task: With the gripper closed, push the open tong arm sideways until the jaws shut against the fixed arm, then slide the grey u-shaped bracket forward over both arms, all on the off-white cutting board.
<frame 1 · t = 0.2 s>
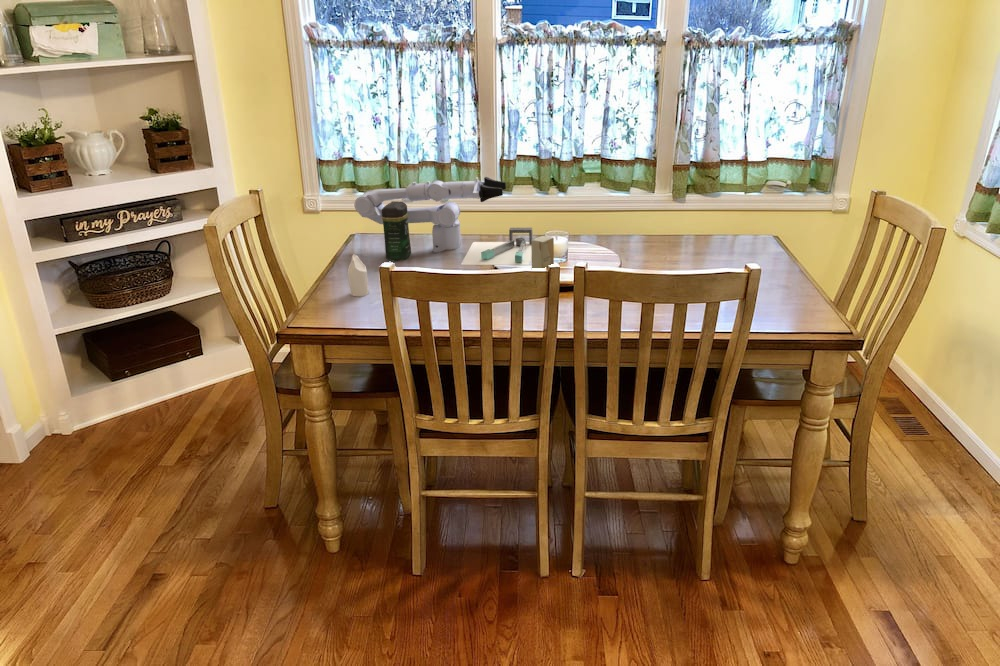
hand: (504, 188, 261), 21 cm above the table, tool horizontal, fingers open, 7 cm apart
tongs fixed: (520, 245, 269), resting on board
tong arm: (498, 249, 262), point 3 cm above the table, hinge at 28.0°
skincare box: (543, 277, 242), on the table
board: (499, 256, 263), on the table
cream carton: (359, 293, 235), on the table
grey u-shaped bracket: (520, 235, 270), point 4 cm above the table, slide at 0.0 cm
coffee jar: (399, 257, 266), on the table
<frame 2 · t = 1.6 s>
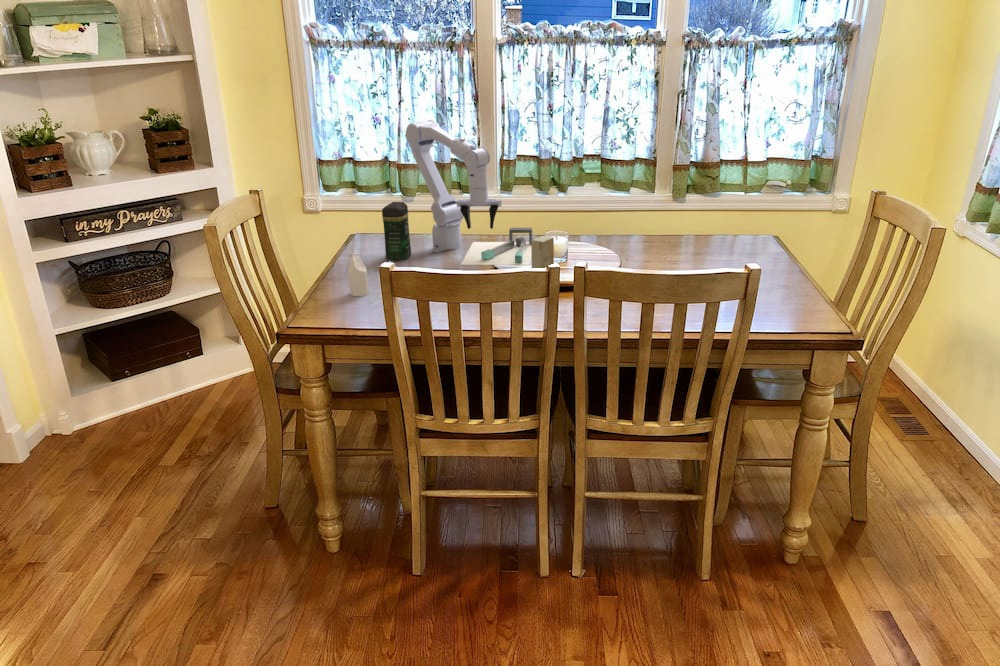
hand: (480, 227, 259), 10 cm above the table, tool pointing down, fingers open, 7 cm apart
nothing on the table moved.
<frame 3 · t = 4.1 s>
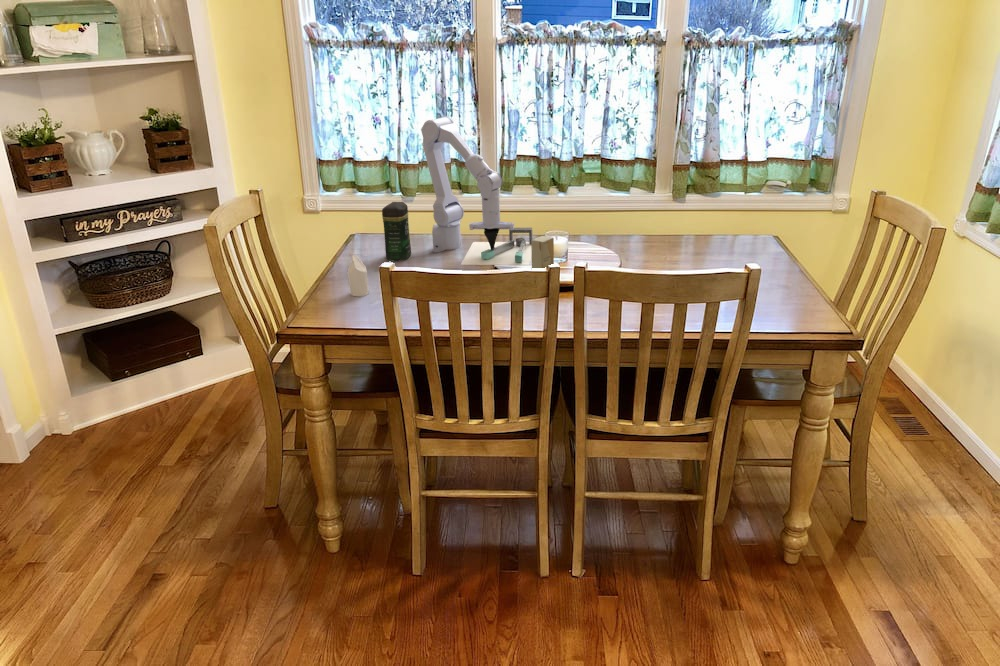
hand: (492, 250, 262), 2 cm above the table, tool pointing down, fingers closed, pressing on tong arm
tong arm: (498, 249, 262), point 2 cm above the table, hinge at 28.0°, touching gripper
everything else where it was.
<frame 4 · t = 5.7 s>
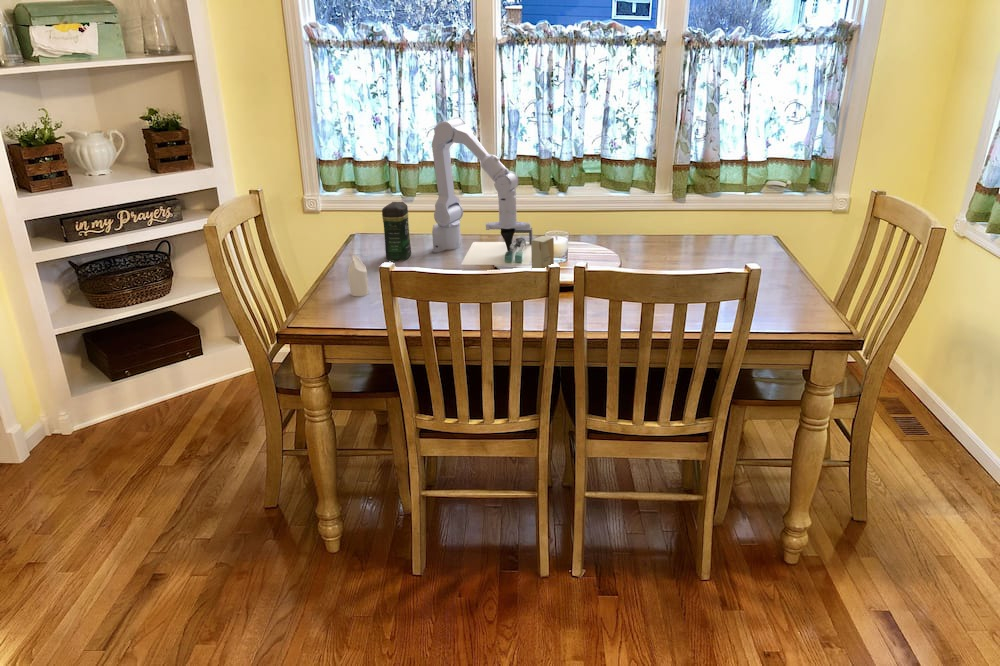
hand: (508, 250, 261), 2 cm above the table, tool pointing down, fingers closed
tong arm: (511, 251, 259), point 2 cm above the table, hinge at 1.5°, touching gripper
everything else where it was.
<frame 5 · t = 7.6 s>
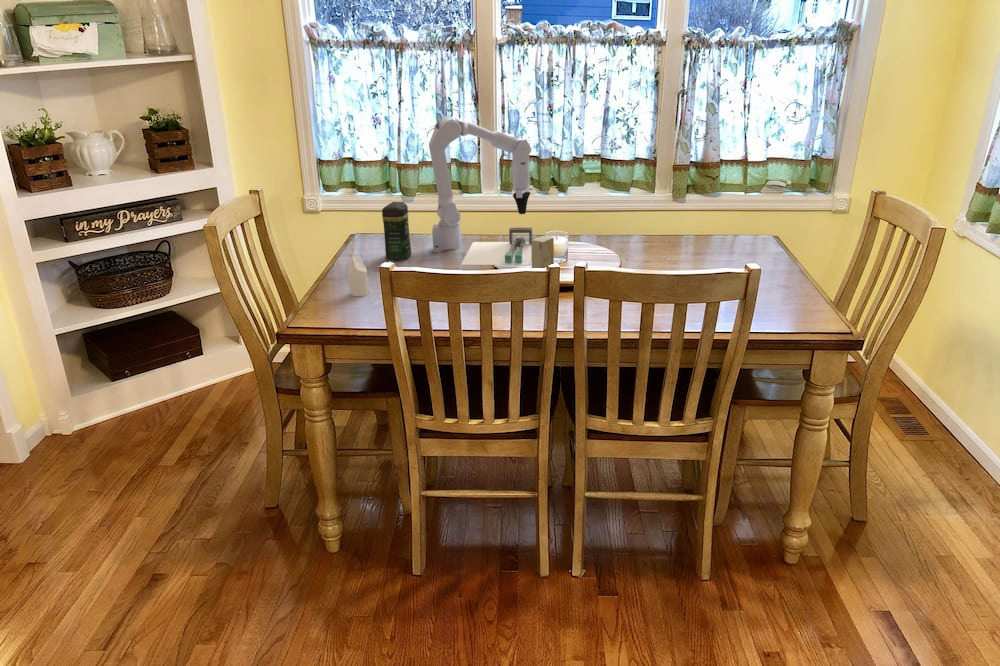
hand: (522, 213, 274), 10 cm above the table, tool pointing down, fingers closed
tong arm: (511, 251, 259), point 3 cm above the table, hinge at 1.5°
everything else where it was.
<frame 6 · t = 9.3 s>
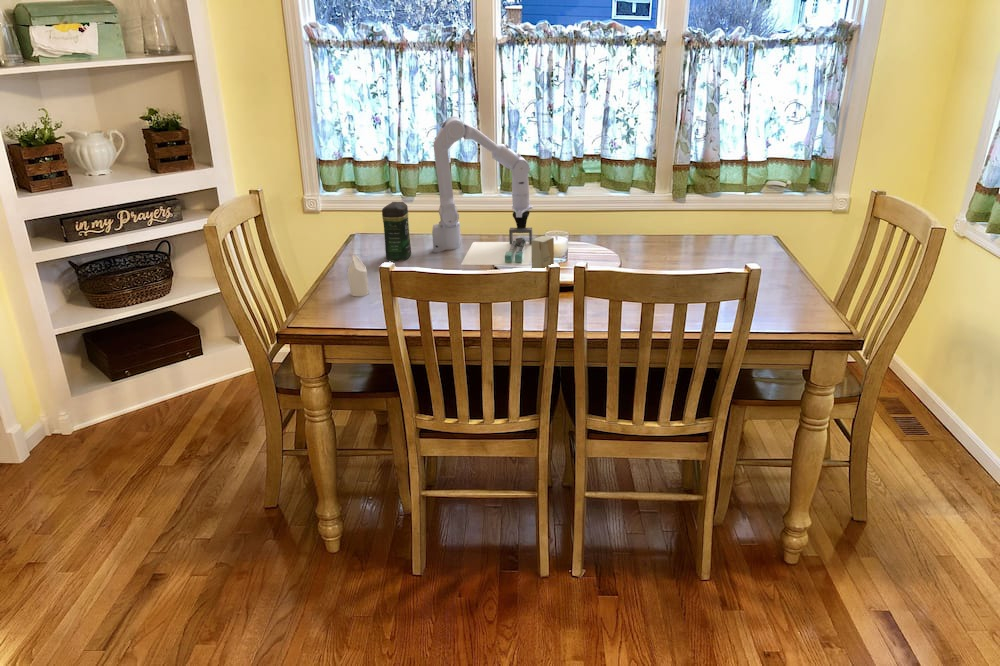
hand: (521, 232, 273), 4 cm above the table, tool pointing down, fingers closed
grey u-shaped bracket: (520, 235, 270), point 4 cm above the table, slide at 0.0 cm, touching gripper
everything else where it was.
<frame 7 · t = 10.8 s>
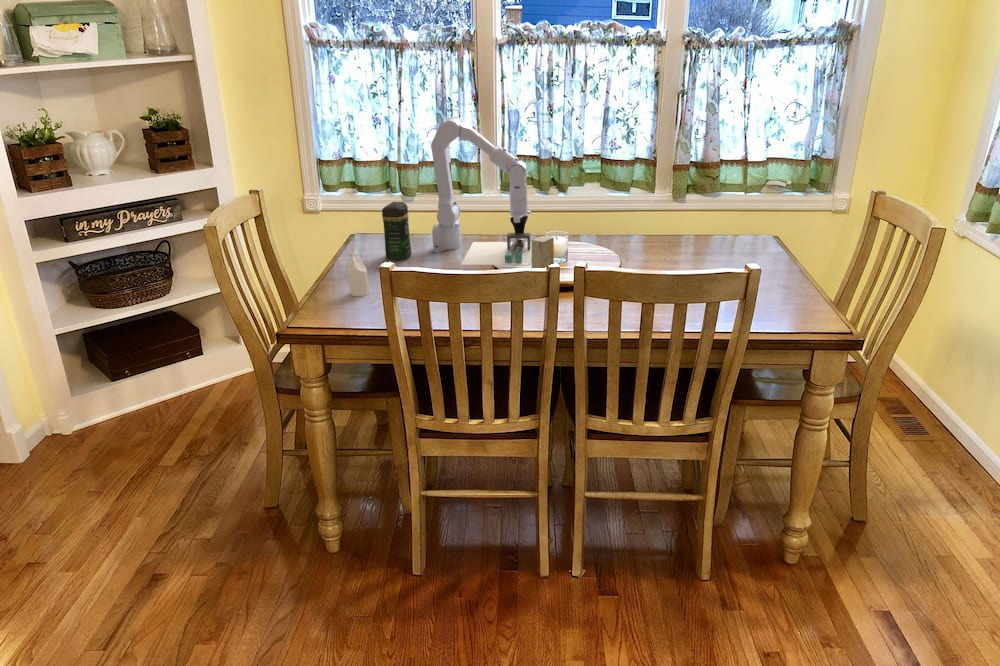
hand: (519, 237, 267), 4 cm above the table, tool pointing down, fingers closed
grey u-shaped bracket: (518, 241, 265), point 4 cm above the table, slide at 6.5 cm, touching gripper
everything else where it was.
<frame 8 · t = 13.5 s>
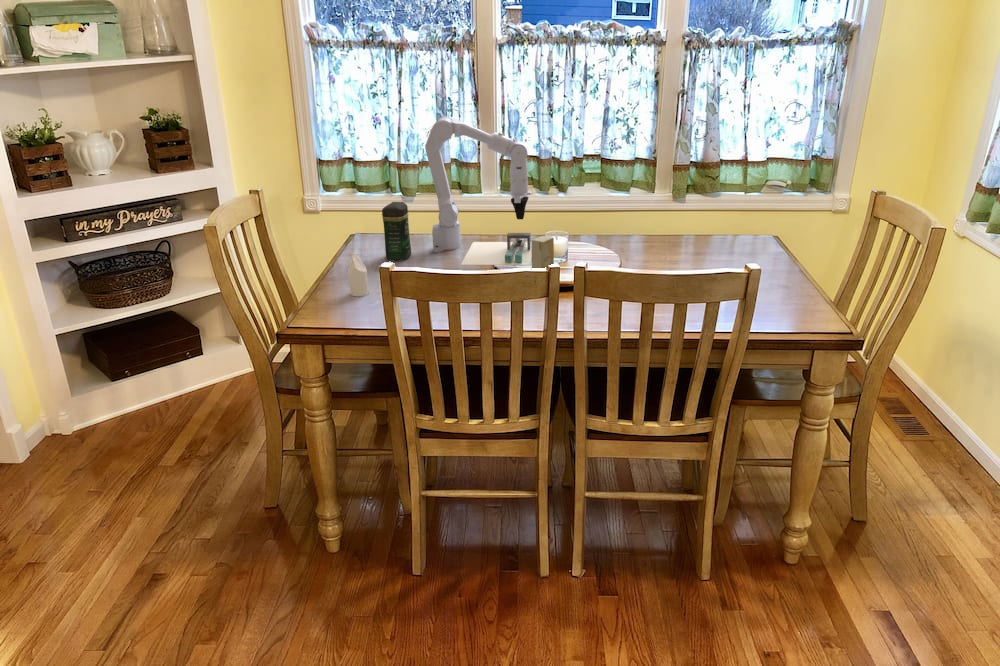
hand: (520, 218, 268), 10 cm above the table, tool pointing down, fingers closed
grey u-shaped bracket: (518, 241, 265), point 4 cm above the table, slide at 6.5 cm
everything else where it was.
at the end: tong arm at +2° (first picture: +28°); grey u-shaped bracket slide at 6.5 cm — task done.
